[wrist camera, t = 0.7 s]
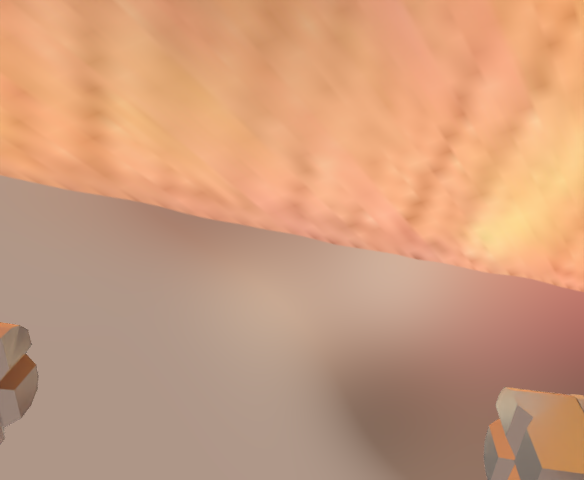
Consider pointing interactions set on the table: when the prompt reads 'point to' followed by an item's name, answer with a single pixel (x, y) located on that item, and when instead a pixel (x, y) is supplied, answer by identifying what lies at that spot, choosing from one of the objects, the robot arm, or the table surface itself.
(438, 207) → the table surface
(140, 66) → the table surface
